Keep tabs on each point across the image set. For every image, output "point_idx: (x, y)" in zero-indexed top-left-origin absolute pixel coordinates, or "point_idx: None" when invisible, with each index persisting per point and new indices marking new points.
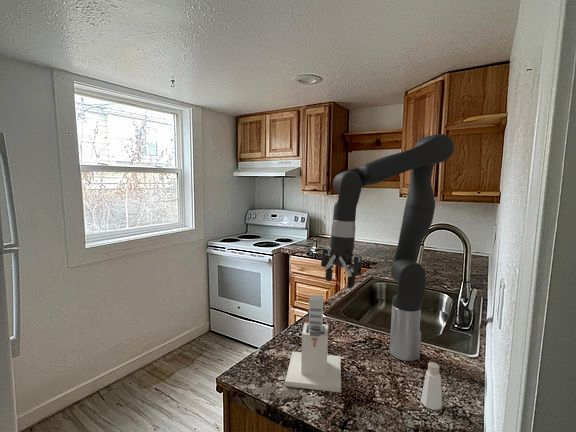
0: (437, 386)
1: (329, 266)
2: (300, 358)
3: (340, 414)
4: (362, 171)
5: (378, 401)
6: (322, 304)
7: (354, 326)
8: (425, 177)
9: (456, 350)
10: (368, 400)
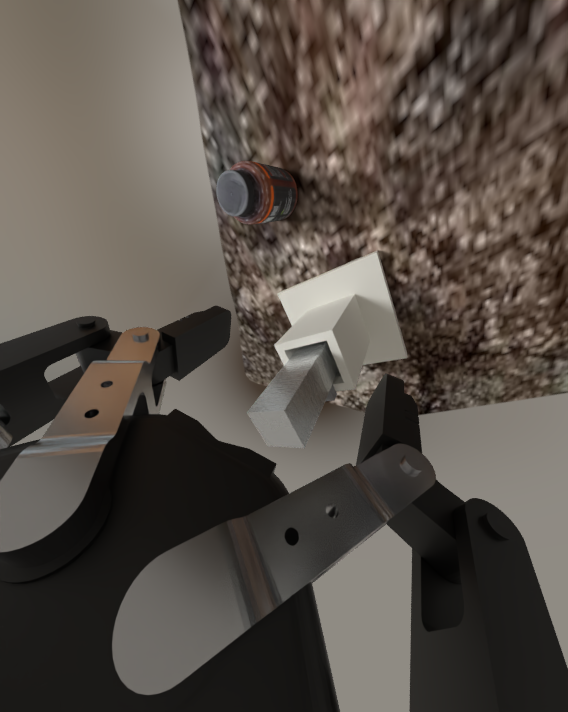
0: None
1: (158, 410)
2: (302, 308)
3: (417, 395)
4: None
5: (493, 350)
6: (308, 437)
7: None
8: None
9: None
10: (468, 354)
